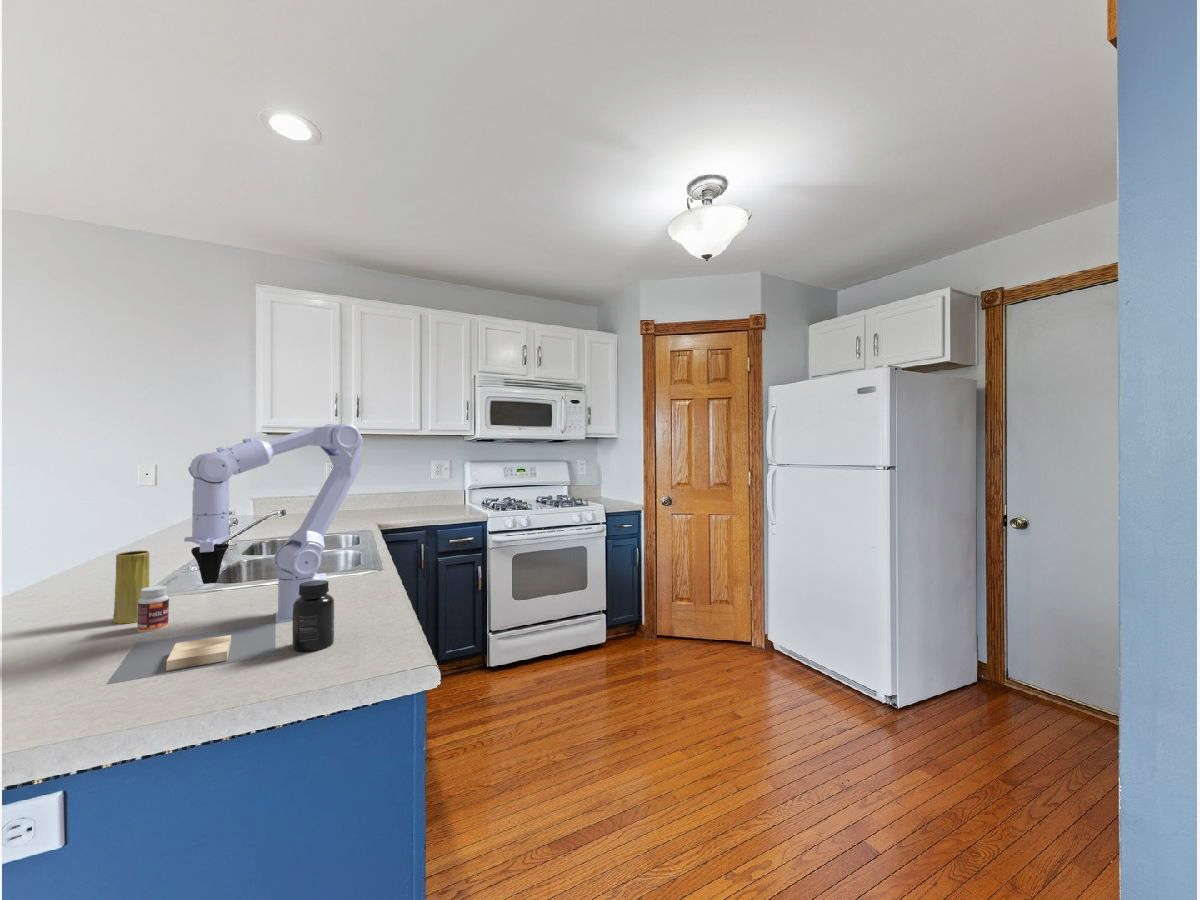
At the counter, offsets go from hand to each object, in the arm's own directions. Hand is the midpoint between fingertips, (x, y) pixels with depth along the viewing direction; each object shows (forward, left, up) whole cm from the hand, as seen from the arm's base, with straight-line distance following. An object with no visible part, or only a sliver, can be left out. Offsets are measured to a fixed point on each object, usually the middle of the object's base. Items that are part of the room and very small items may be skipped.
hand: (210, 582), depth 101 cm
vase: (+15, -20, -11) cm, 27 cm away
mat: (0, +9, -10) cm, 14 cm away
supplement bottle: (-17, +17, -11) cm, 26 cm away
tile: (0, +9, -9) cm, 13 cm away
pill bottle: (+10, -10, -11) cm, 18 cm away
